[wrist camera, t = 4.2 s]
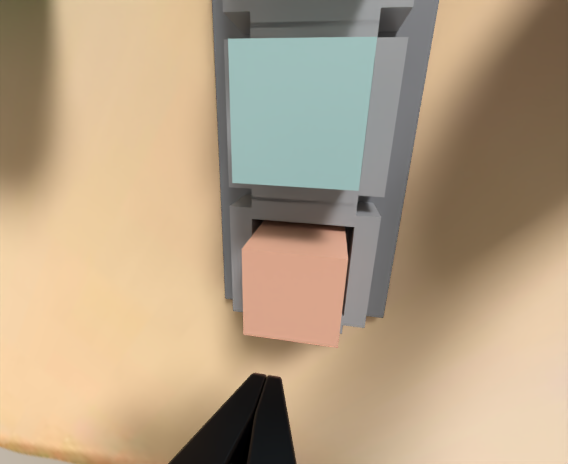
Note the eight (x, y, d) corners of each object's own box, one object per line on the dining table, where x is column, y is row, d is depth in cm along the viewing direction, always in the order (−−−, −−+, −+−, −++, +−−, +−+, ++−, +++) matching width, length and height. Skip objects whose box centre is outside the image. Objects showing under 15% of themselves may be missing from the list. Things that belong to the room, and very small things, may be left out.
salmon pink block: (344, 222, 16) (348, 258, 12) (337, 291, 18) (337, 348, 13) (267, 216, 17) (241, 248, 12) (266, 283, 19) (243, 334, 14)
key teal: (362, 70, 13) (377, 36, 8) (351, 171, 14) (358, 190, 10) (264, 69, 14) (228, 38, 9) (264, 166, 15) (232, 182, 10)
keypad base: (464, -181, 12) (522, -321, 8) (381, 309, 20) (391, 350, 16) (213, -152, 14) (167, -259, 10) (230, 291, 22) (208, 324, 18)
